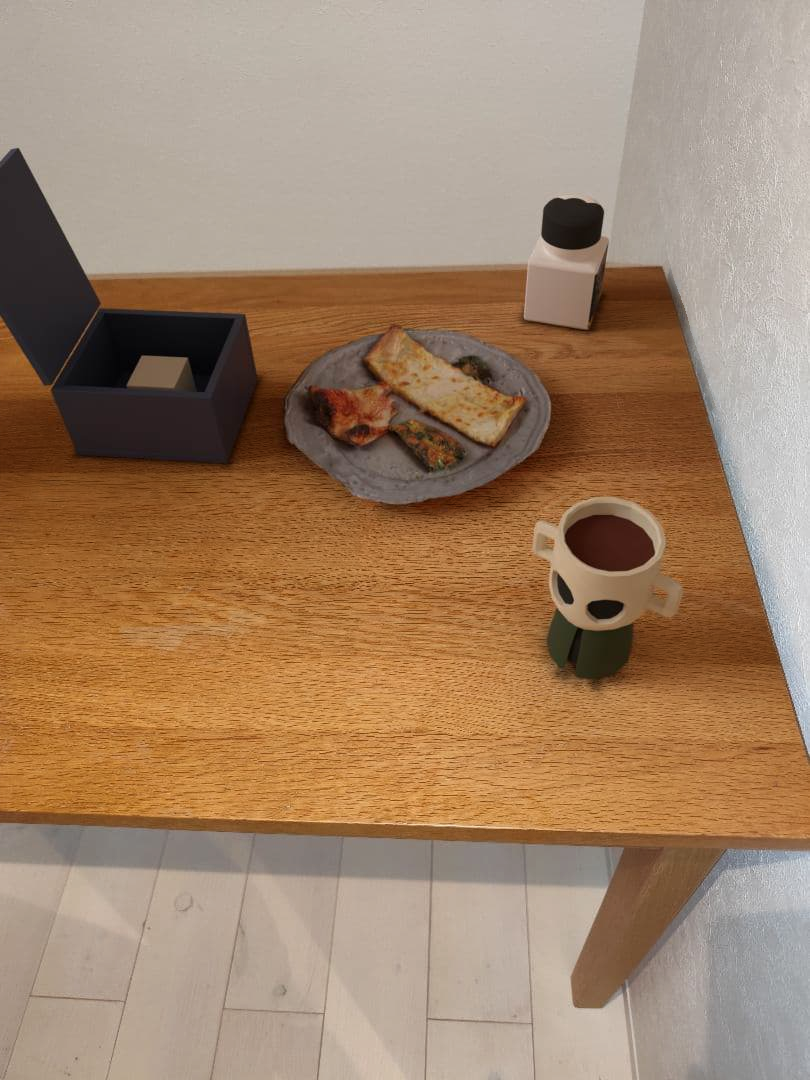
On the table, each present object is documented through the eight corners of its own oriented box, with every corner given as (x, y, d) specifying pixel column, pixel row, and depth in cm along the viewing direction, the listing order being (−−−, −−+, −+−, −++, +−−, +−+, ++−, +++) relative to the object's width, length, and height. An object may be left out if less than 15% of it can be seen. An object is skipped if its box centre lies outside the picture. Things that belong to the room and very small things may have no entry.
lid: (19, 147, 75) (10, 148, 75) (-49, 223, 67) (-58, 225, 67) (101, 303, 86) (94, 304, 86) (52, 385, 78) (44, 386, 78)
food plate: (241, 414, 87) (235, 385, 85) (419, 318, 97) (418, 290, 94) (409, 556, 74) (407, 528, 72) (595, 429, 84) (599, 400, 81)
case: (258, 378, 91) (245, 313, 85) (227, 464, 83) (210, 398, 77) (121, 372, 93) (99, 307, 87) (77, 455, 84) (49, 389, 78)
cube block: (138, 423, 86) (126, 385, 82) (153, 393, 89) (141, 355, 85) (185, 425, 85) (174, 387, 82) (198, 395, 88) (188, 357, 85)
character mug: (501, 648, 68) (510, 534, 58) (547, 587, 72) (562, 470, 62) (633, 718, 64) (666, 608, 54) (674, 649, 67) (712, 534, 58)
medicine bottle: (588, 331, 94) (603, 226, 85) (522, 321, 96) (530, 216, 87) (601, 295, 99) (616, 191, 90) (537, 285, 101) (547, 183, 92)
